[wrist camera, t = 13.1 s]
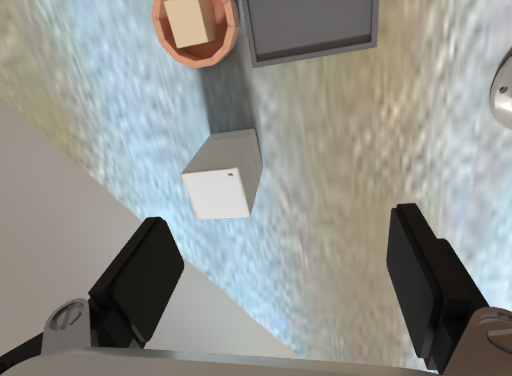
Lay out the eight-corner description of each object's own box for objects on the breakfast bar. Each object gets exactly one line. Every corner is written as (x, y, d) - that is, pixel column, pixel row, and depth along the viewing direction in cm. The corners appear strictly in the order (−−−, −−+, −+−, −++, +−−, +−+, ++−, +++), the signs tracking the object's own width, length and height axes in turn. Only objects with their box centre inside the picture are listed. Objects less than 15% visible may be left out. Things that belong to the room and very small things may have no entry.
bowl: (230, -36, 31) (222, -42, 28) (246, 56, 36) (241, 60, 33) (155, -17, 33) (139, -20, 30) (180, 68, 38) (169, 73, 35)
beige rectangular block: (210, -4, 32) (196, -7, 28) (219, 38, 34) (208, 42, 30) (181, 3, 33) (163, 1, 29) (192, 44, 35) (177, 48, 31)
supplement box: (209, 133, 42) (178, 172, 32) (255, 127, 41) (239, 166, 30) (221, 174, 46) (196, 221, 36) (263, 170, 44) (251, 218, 34)
